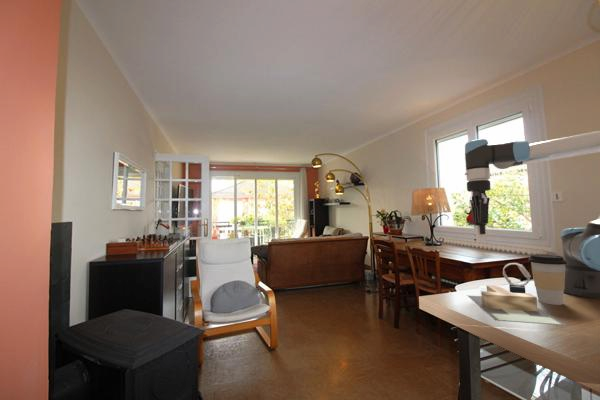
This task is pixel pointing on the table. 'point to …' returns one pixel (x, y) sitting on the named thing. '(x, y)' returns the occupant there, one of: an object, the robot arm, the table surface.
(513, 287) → the watch
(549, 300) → the coffee cup
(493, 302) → the t block
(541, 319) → the mat
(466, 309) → the table surface
